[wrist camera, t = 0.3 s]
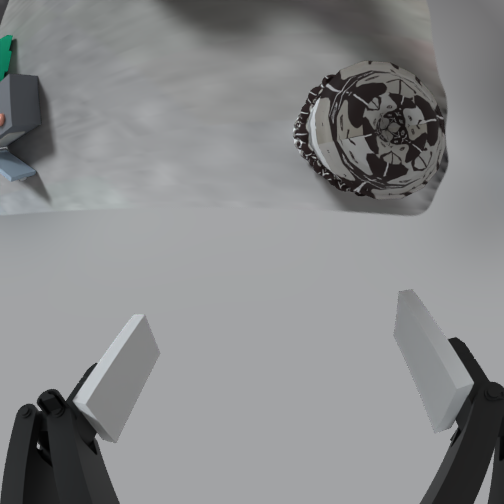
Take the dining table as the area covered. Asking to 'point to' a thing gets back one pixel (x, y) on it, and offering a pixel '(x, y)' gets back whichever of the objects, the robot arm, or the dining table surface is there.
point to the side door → (14, 167)
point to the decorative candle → (372, 131)
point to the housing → (18, 107)
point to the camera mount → (5, 55)
